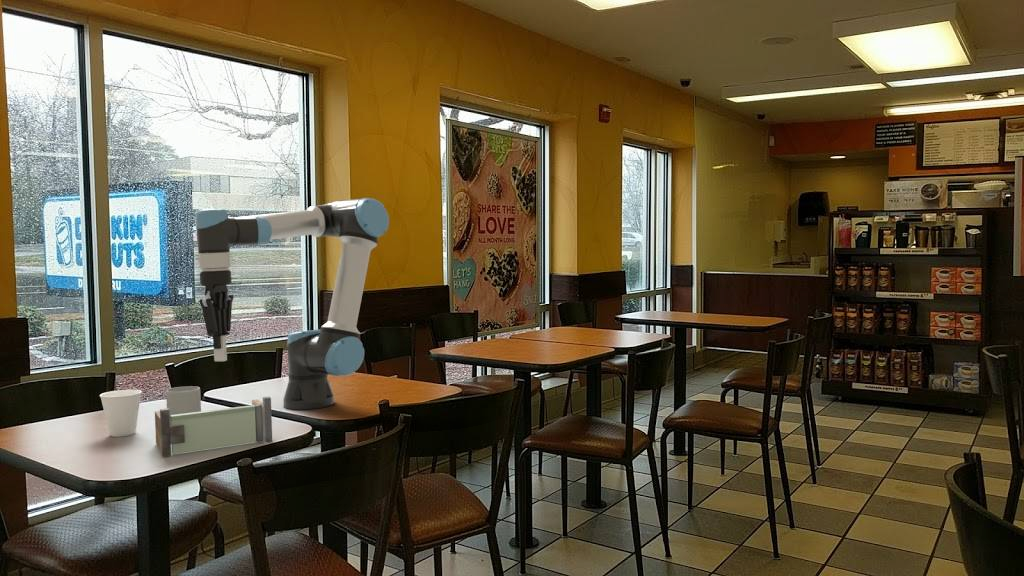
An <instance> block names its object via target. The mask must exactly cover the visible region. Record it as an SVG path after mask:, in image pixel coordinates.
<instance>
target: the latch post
mask: <svg viewBox="0 0 1024 576" xmlns="http://www.w3.org/2000/svg"><path fill="white" fill-rule="evenodd" d="M154 422H155V423H154V424H155V425H154V426H155V444H156V446H157V448H158V449H159V451H160V452H161V457H162V458H167V457H172V444H178V443H185V434H184V425H180V426H172V427H170V414H169V409H168V408H167V407H166V408H159V410H156V411H154Z"/></svg>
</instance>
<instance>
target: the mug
mask: <svg viewBox="0 0 1024 576" xmlns="http://www.w3.org/2000/svg"><path fill="white" fill-rule="evenodd" d="M165 393H166V394H165V398H166V400H165V401H166V408H168V409H169V414H170V415H176V414H184V413H192V412H201V411H202V406H201V405H202V403H201V402H202V400H201V396H202V395H201V388H200V387H199V386H192V385H190V386H188V385H187V386H177V387H171V388H168V389H166V392H165ZM170 427H171V419H170Z"/></svg>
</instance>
